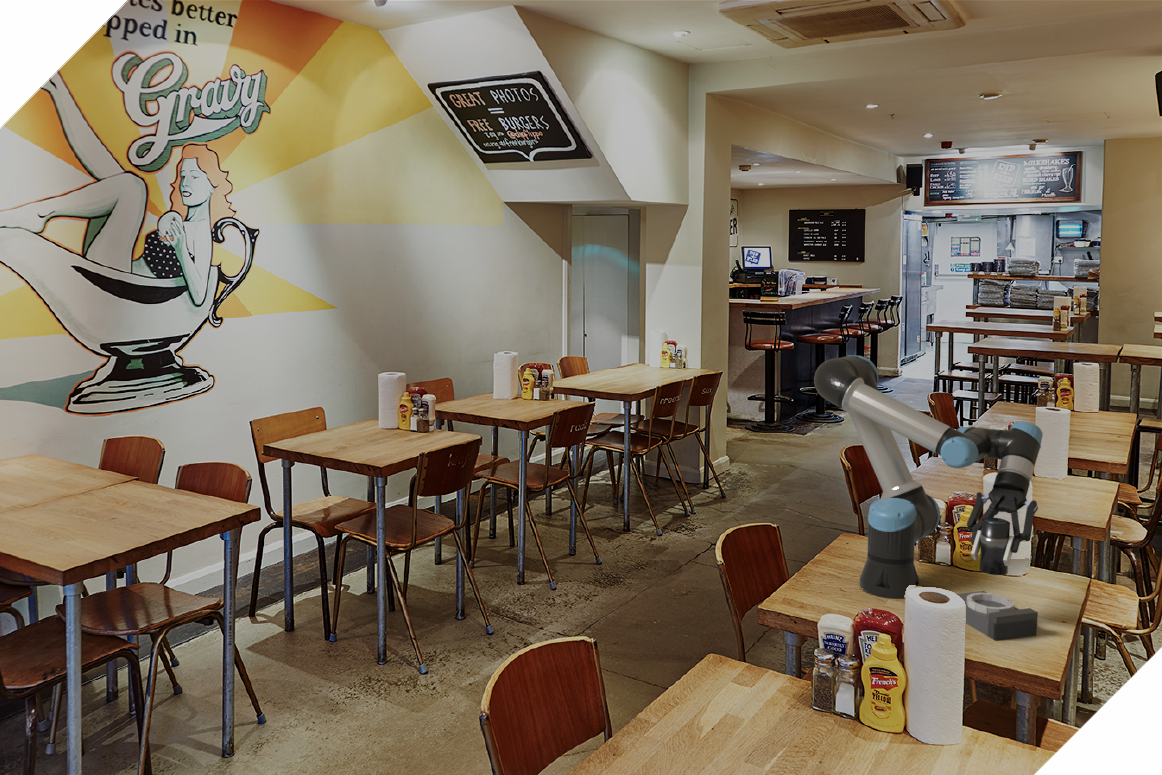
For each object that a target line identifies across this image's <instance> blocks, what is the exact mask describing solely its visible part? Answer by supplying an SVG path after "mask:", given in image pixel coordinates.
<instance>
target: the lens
mask: <svg viewBox="0 0 1162 775" xmlns="http://www.w3.org/2000/svg"><path fill="white" fill-rule="evenodd" d="M1010 529H1011V522H1010V521H1009V520H1006V519H1004V518H1000V517H993V518H985V519H982V526H981V533H980V545H981V546H980V550H979V553H980V554H979V570H980V572H982V573H984V574H986V575H993V576H1004V575H1007V574H1008V573H1009V572H1008V571H1009V566H1005V564H1004V561H1003V558H1004V554H1005V551H1006V547H1007V544H1008V540H1009V537H1010V536H1011V535H1010Z"/></svg>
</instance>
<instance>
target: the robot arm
mask: <svg viewBox="0 0 1162 775" xmlns="http://www.w3.org/2000/svg"><path fill="white" fill-rule="evenodd" d="M878 382H879V371H878V368H877V366H876V365H875V364H874V363H873V361H871V360H870V359H869V358H866V357H864V356H862V355H855V354H854V355H853V354H852V355H846V356H842V357H837V358H831V359H827V360H826V361H824V362H822V363H821V364H820V365H819V366H818V367H817V368H816V370H815V373H814V377H813V384H814V388H815V389H816V391H817V393H818V394H819V396H821V397H822V398H823V399H825V400H826V401H828V402H829V403H831V404H832V405H835V406H836V407H839V408H840V409H841V410H843V411H844V412H847V413H848V414H849V417H850V418H851V419H850V420H851V421H852V423H853V426H854V427H855V430H856V433H857V434H858V435H857V436H858V437H859V439H860V442H861V444H862V446H863V448H864V451H865V453H866V455H867V458H868V460H869V462H870V464H871V467H872V469H873V471H874V474H875V475H876V477H877V480H878V483H879V485H880V488H881V489H882V494H881V497H880V499H877V500H875V501H873V502H872V503H871V504H870V506H869V508H868V509H869V510H868V515H867V521H868V522H867V557H866V561H865V563H864V565H863V568H862V572H861V574H860V575H859V576H860V577H859V587H860V586H861V588H863V589H864V590H865V591H867V592H869V593H871V594H870V595H872V594H873V596H875V595H876V597H880V598H885V599H895V600H899V599H900V600H903V599H904V595H905V591H906V588H907V587H908V586H909V585H916V586H920V587H921V583H920V580H919V576H918V572H917V569H916V566H915V563H914V562H915V544H916V542H918V541H920V540H921V539H923V538H925V537H928V536H929V535H931V534H932V533H933V532H934V530H935V529H936V528H937V527H938V525H939V524H940V523H939V522H940V520H941V509H940V506H939V504H938V502H937V501H936V500H935V499H934V497H933V496H931V495H930V494H928V493H926V491H925V489H924V487H923V484H922V483H919V482H917V481H915V480H914V479H913V476H912V475H911V472H910V470H909V467H908V466H907V462H906V461H905V458H904V456H903V454H902V452H901V450H900V447H899V445H898V443H897V441H896V440H897V439H896V437H895V436H894V434H893V432H894V433H896V434H898V435H900V436H902V437H904V438H906V439H908V440H910V441H912V442H913V443H915V444H918V445H919V446H921V447H923V448H924V449H927V450H929V451H930V452H932V453H934V454H937V455H938V456H940V457H941V460H942V461H943V462H944V464H946V465H947V466H949V467H951V468H954V469H962V468H966V467H967V468H968V467H969V466H971V465H974V464H975V463H976V462H978V461H980V460H983V459H984V458H985V459H986V458H987V459H996V460H1000V462H999V466H998V469H997V473H996V476H995V479H994V481H993V485H992V489H991V491H989V493H982V492H980V491H978V492H977V493H976V496H975V497H976V500H975V504H974V505H973V507H972V509H971V513H970V515H969V516H968V520H967V522H966V528H967V529H968V531H969V532H972V533H971V537H970V543H971V544H970V545H972V549H971V552H970V555H971V558H972V560H973V561H974V560H975V561H977V559H978V555H979V553H980V550H981V545H980V533H981V526H982V519H985V518H995V516H997V515H998V514H999V513H1007V514H1010V516H1011V518H1010V519H1011V524H1012V531H1013V533H1012V534H1013V536H1012V535H1009V536H1010V537H1009V540H1008V544H1007V547H1006V551H1005V554H1004V558H1003V561H1004V564H1005V566H1008V567H1009V565H1010V562H1011V558H1012V555H1013V554H1017V553H1018V551H1019V547H1020V544H1021V542H1022V541H1023V542H1024V541H1025V542H1030V541H1031V539H1032V538H1031V536H1032V530H1033V526H1034V517H1035V514H1036V512H1037V511H1038V509H1039V506H1038V502H1037V501H1036V500H1029V499H1027V496H1028V492H1029V488H1030V482H1031V481H1032V476H1033V474H1034V470H1035V465H1036V462H1037V461H1038V460H1037V459H1038V457H1039V456H1038V455H1039V453H1040V450H1041V448H1042V446H1041V445H1042V440H1043V433H1044V432H1043V431H1042V429H1041V428H1040V427H1039V426H1038V425H1036V424H1034V423H1032V422H1029V421H1024V420H1023V421H1019V422H1014V423H1013V424H1012V425H1011V426H1010V427H1009V429H993V428H983V427H975V426H961V427H959V428H957V429H955V428H953V427H951V426H949V425H948V424H945V423H943V422H941V421H939V420H937V419H935V418H934V417H931V416H929V415H927V414H926V413H924V412H921V411H919V410H917V409H916V408H914V407H912V406H910V405H907V404H905V403H903V402H902V401H900V400H897V399H896V398H893V397H892V396H890V395H887V394H885V393H883V392H881V391H880V389H879V387H878ZM988 500H989V501H990V502H991V503H990V504H989V506H988V508H987V509H986V511H985V512H984V513H983V515H982V516H981V513H982V511H983V509H984V505H985V504H987V502H988ZM1024 506H1025V508H1026V513H1025V518H1024V524H1023V530H1022V532H1021V528H1020V522H1019V510H1021V508H1023V507H1024ZM980 516H981V517H980ZM861 588H860V589H861ZM864 590H863V591H864ZM865 591H864V592H865ZM867 592H866V593H867ZM869 593H868V594H869ZM904 600H905V599H904Z"/></svg>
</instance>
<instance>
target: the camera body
mask: <svg viewBox="0 0 1162 775" xmlns="http://www.w3.org/2000/svg"><path fill="white" fill-rule="evenodd" d="M956 594H957V595H959V596H960V597H961V598H962V599H963V600H964V601H965V604H966V623H965V624H966V625H968V626H970V627H972V628H974V629H975V630H977V631H978V632H980V633H982V634H984V636H987V637H988V638H990V639H992V640H994V641H1003V640H1011V639H1020V638H1027V637H1034V636H1035V637H1036V636H1037V634H1038V633H1037V632H1038V618H1039V617H1038V615H1039V612H1038V611H1036V610H1034V609H1032V608H1030V607H1029V608H1021V609H1019V608H1017V607H1016V606H1015V603H1014V601H1013V600H1012V599H1010V598H1008V597H1006V596H1004V595H999V594H996V593H990V592H987V591H985V590H982V591H981V590H979V591H971V592H961V593H956Z"/></svg>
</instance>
